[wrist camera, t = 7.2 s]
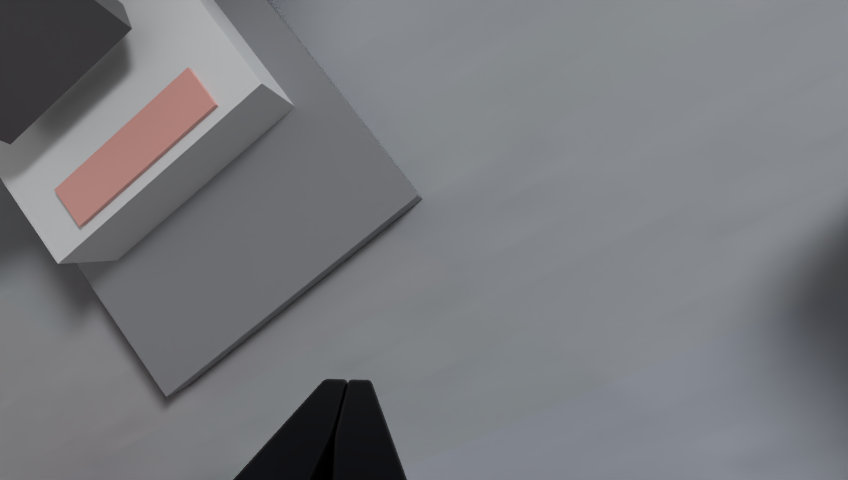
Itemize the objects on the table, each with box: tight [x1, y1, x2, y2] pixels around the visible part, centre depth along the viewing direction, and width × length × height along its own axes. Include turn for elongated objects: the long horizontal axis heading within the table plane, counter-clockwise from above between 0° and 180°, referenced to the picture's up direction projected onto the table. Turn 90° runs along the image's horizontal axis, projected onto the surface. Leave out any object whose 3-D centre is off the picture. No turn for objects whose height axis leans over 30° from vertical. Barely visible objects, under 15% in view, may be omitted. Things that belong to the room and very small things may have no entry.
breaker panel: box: [0, 0, 422, 397], centre depth 20 cm, size 18×16×5 cm
